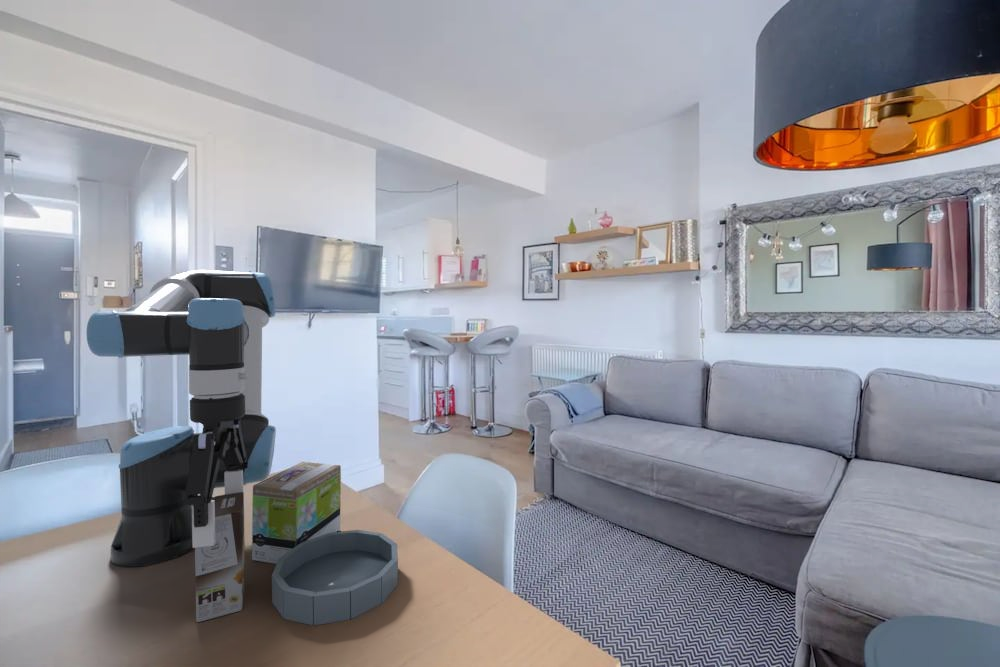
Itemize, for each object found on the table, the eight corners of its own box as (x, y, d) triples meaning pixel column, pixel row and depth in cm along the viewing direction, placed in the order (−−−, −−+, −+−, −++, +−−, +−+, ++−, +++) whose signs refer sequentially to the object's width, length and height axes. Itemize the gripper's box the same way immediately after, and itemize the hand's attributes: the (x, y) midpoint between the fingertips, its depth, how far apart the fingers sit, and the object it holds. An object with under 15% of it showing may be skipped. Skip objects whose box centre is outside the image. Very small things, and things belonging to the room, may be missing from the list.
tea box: (297, 568, 82) (296, 489, 81) (250, 561, 84) (249, 485, 83) (342, 529, 97) (341, 462, 96) (301, 525, 99) (300, 459, 98)
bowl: (288, 560, 84) (287, 537, 84) (396, 547, 89) (395, 525, 89) (259, 634, 65) (259, 604, 65) (399, 611, 70) (399, 583, 70)
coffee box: (243, 611, 70) (242, 511, 69) (195, 624, 67) (192, 520, 66) (245, 580, 78) (244, 490, 77) (202, 590, 75) (200, 497, 74)
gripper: (215, 408, 60) (218, 562, 61) (264, 383, 84) (265, 493, 85) (151, 411, 58) (155, 570, 59) (219, 384, 82) (221, 497, 83)
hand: (220, 525), depth 72 cm, fingers open, 13 cm apart
